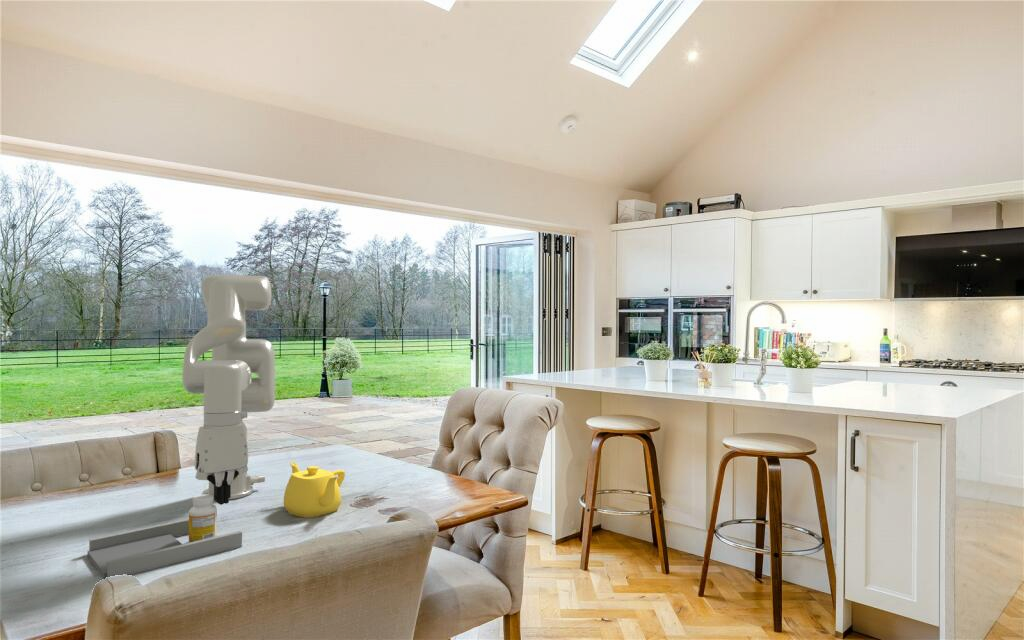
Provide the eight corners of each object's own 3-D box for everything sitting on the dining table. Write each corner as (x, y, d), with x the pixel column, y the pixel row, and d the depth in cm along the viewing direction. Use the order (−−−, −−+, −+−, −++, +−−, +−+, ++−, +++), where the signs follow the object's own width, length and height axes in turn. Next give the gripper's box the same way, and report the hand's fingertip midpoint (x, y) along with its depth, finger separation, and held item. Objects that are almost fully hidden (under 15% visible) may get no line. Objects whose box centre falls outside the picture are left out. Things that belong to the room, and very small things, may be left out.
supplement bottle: (195, 537, 135) (195, 493, 135) (220, 537, 135) (220, 493, 135) (184, 546, 129) (184, 500, 129) (210, 546, 130) (210, 500, 130)
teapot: (368, 510, 154) (368, 467, 154) (312, 525, 143) (312, 479, 143) (321, 493, 169) (322, 454, 169) (267, 506, 158) (267, 464, 158)
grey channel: (213, 526, 142) (213, 513, 142) (241, 546, 130) (242, 532, 130) (86, 554, 125) (86, 539, 125) (105, 580, 112) (105, 564, 112)
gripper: (249, 414, 143) (249, 492, 143) (180, 421, 132) (179, 506, 132) (263, 417, 137) (263, 499, 138) (191, 425, 127) (191, 514, 127)
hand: (222, 502), depth 135 cm, fingers closed
